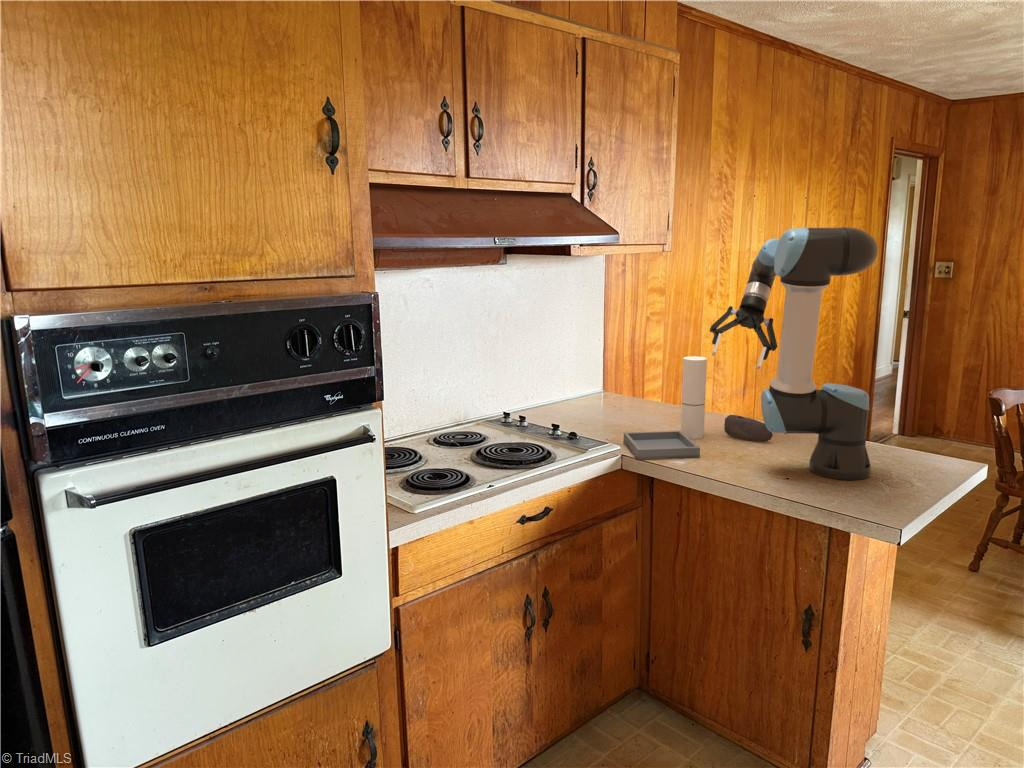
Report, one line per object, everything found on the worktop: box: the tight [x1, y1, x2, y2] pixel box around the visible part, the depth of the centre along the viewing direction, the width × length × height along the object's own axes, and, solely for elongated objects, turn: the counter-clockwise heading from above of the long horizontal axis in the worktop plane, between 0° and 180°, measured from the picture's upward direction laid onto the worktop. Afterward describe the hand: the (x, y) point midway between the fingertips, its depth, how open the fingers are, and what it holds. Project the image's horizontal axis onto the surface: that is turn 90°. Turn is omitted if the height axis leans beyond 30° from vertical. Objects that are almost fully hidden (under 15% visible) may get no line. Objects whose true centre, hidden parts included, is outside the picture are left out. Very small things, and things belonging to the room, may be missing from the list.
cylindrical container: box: [680, 355, 708, 440], centre depth 228 cm, size 7×7×25 cm
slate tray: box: [623, 430, 701, 461], centre depth 217 cm, size 18×18×3 cm
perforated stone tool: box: [723, 414, 773, 443], centre depth 225 cm, size 15×5×7 cm, turn 46°
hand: (735, 361), depth 218 cm, fingers open, 13 cm apart
